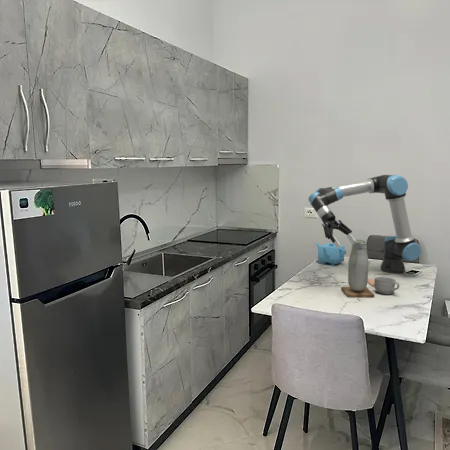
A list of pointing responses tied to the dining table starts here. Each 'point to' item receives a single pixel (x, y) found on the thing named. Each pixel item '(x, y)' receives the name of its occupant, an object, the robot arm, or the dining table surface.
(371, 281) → the terracotta tile
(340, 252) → the teakettle
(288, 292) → the dining table surface
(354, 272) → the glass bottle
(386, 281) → the teacup
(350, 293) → the walnut board
